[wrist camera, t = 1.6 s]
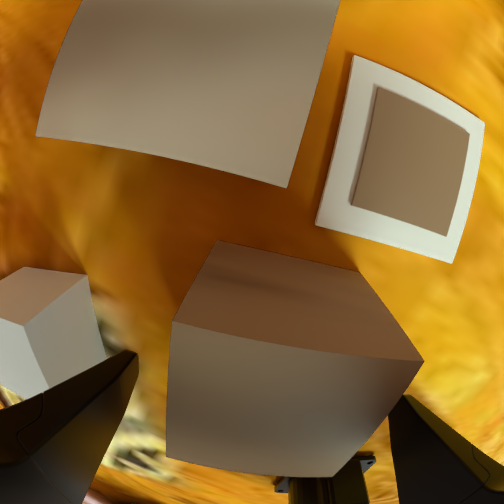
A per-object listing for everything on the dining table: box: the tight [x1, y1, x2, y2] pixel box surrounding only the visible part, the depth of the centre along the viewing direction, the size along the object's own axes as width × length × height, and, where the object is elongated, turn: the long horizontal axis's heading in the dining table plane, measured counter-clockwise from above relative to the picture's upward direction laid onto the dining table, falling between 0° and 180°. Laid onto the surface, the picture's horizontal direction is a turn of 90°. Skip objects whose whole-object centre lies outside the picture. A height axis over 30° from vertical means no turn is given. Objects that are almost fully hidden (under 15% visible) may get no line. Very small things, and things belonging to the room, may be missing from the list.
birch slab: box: [35, 0, 340, 189], centre depth 7 cm, size 8×8×4 cm
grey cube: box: [0, 267, 106, 399], centre depth 10 cm, size 5×5×5 cm
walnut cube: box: [166, 240, 424, 477], centre depth 9 cm, size 6×6×6 cm
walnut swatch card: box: [314, 55, 485, 264], centre depth 9 cm, size 7×7×1 cm
